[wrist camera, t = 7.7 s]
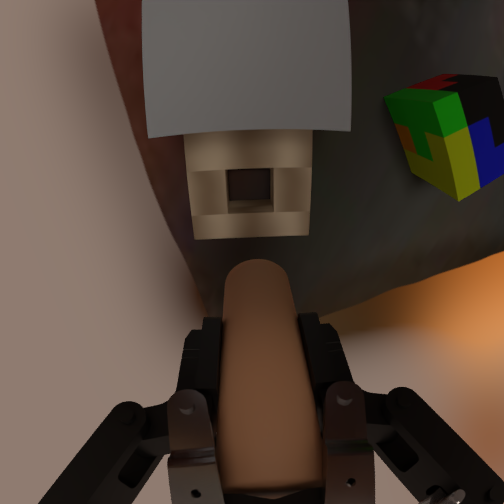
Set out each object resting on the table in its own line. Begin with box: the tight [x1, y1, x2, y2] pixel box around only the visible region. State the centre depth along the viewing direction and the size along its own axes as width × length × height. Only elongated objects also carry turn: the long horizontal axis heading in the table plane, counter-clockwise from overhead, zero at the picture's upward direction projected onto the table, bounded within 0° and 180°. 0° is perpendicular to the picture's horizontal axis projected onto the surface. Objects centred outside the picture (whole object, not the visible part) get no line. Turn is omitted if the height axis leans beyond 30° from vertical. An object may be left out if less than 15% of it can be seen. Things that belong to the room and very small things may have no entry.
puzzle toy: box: [383, 74, 504, 201], centre depth 24 cm, size 10×10×10 cm
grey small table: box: [142, 0, 351, 138], centre depth 19 cm, size 13×16×13 cm
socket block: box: [183, 129, 313, 240], centre depth 28 cm, size 12×18×4 cm, turn 2°
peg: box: [216, 259, 323, 499], centre depth 10 cm, size 3×3×10 cm
